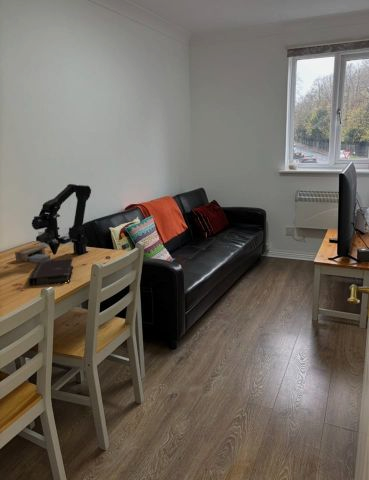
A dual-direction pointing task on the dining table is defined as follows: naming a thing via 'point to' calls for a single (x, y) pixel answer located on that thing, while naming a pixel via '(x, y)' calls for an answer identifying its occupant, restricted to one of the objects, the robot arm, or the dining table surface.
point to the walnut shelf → (23, 254)
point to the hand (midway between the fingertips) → (54, 254)
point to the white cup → (41, 234)
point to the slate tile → (38, 257)
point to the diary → (52, 272)
